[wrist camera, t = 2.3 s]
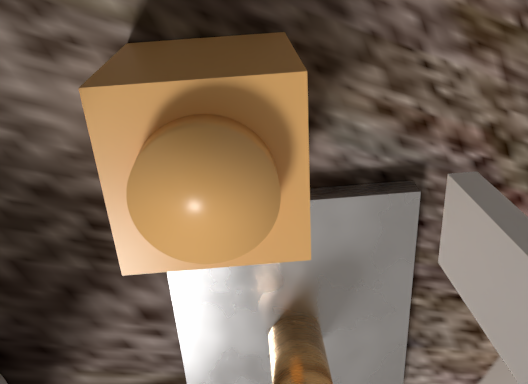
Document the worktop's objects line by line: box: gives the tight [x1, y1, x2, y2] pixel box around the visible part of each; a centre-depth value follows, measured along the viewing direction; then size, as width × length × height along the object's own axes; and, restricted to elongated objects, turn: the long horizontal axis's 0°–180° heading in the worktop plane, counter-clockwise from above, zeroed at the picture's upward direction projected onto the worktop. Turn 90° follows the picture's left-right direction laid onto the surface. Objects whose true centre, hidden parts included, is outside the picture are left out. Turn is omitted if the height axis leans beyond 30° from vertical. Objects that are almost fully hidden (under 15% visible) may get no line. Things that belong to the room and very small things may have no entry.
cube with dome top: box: [79, 32, 311, 276], centre depth 18 cm, size 6×6×8 cm
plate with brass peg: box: [167, 180, 421, 384], centre depth 24 cm, size 14×12×7 cm
